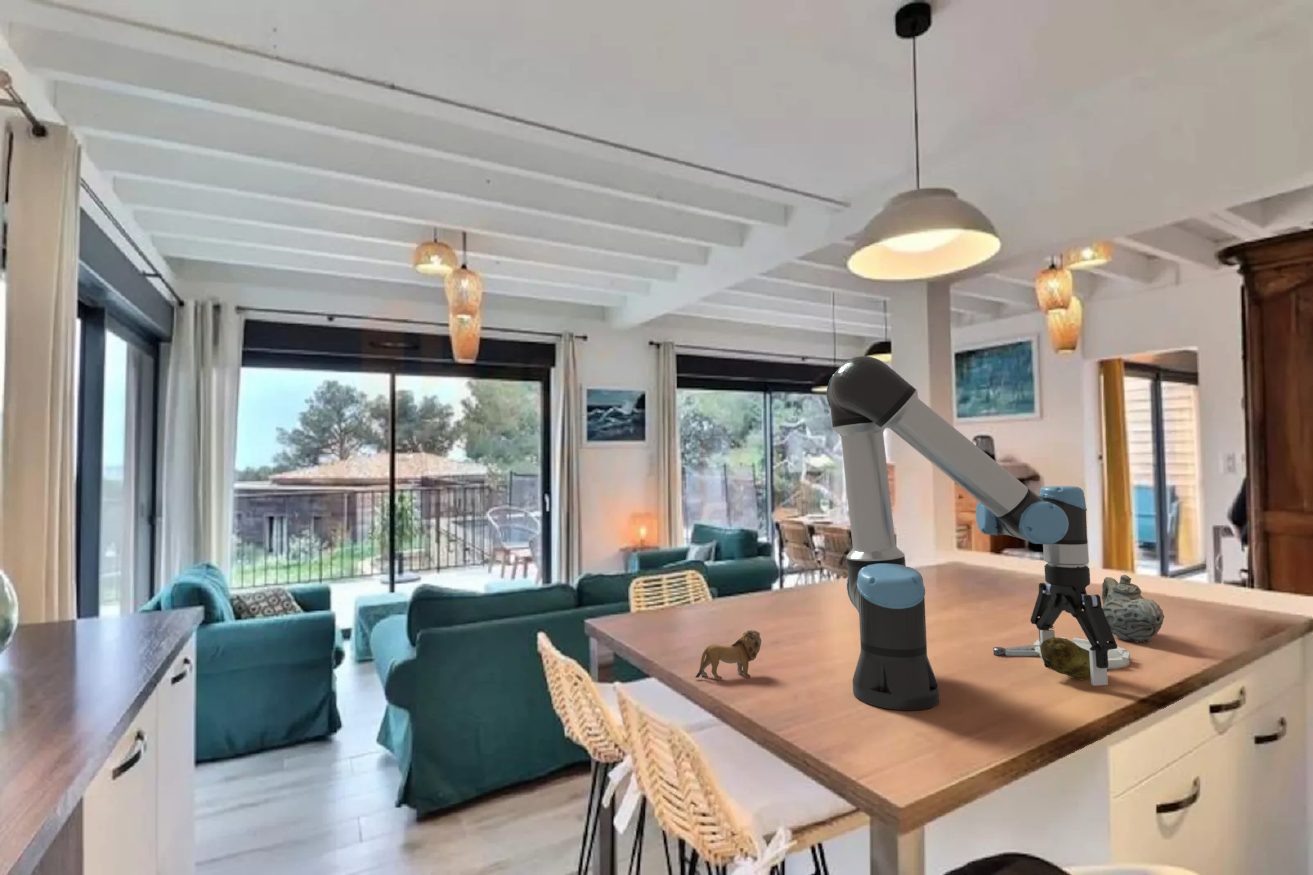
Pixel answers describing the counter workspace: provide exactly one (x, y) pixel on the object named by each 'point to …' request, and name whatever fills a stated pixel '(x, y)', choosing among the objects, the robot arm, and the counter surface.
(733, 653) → the lion figurine
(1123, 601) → the teapot
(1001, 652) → the open tongs prop
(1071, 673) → the potato
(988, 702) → the counter surface
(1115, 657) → the plate
